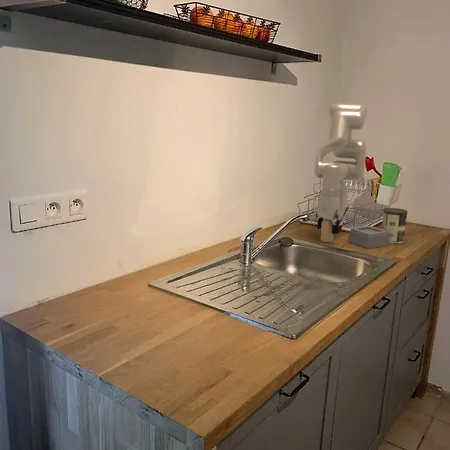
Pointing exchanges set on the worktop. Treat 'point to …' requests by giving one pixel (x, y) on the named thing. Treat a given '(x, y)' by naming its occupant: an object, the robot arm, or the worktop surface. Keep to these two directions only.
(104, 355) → the worktop surface
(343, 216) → the cocoa
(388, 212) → the coffee can
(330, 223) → the candle
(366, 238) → the pedestal
